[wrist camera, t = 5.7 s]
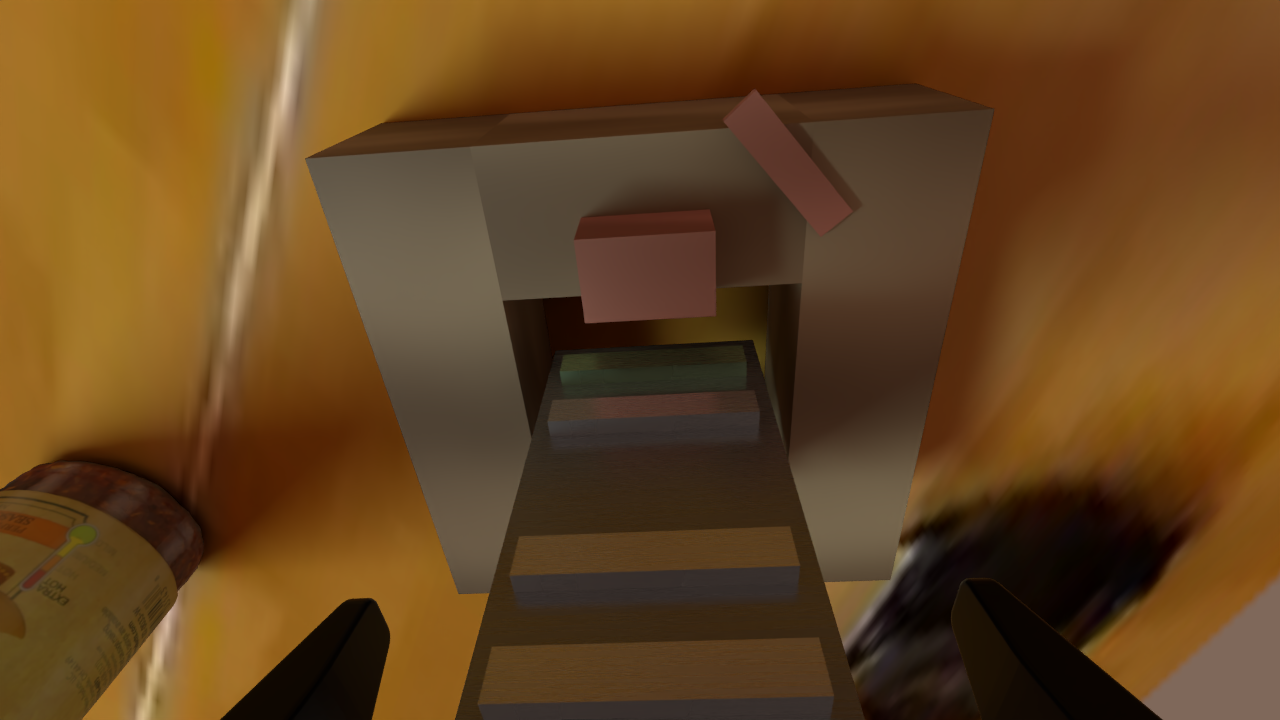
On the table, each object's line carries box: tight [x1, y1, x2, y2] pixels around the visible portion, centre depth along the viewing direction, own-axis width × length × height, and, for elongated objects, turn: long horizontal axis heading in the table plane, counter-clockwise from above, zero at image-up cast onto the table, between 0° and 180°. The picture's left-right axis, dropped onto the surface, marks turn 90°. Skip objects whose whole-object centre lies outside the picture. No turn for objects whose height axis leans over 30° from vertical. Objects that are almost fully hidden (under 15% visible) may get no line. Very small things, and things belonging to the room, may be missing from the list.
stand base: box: [305, 84, 994, 594], centre depth 14 cm, size 13×12×5 cm
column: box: [455, 340, 865, 720], centre depth 10 cm, size 5×4×8 cm
